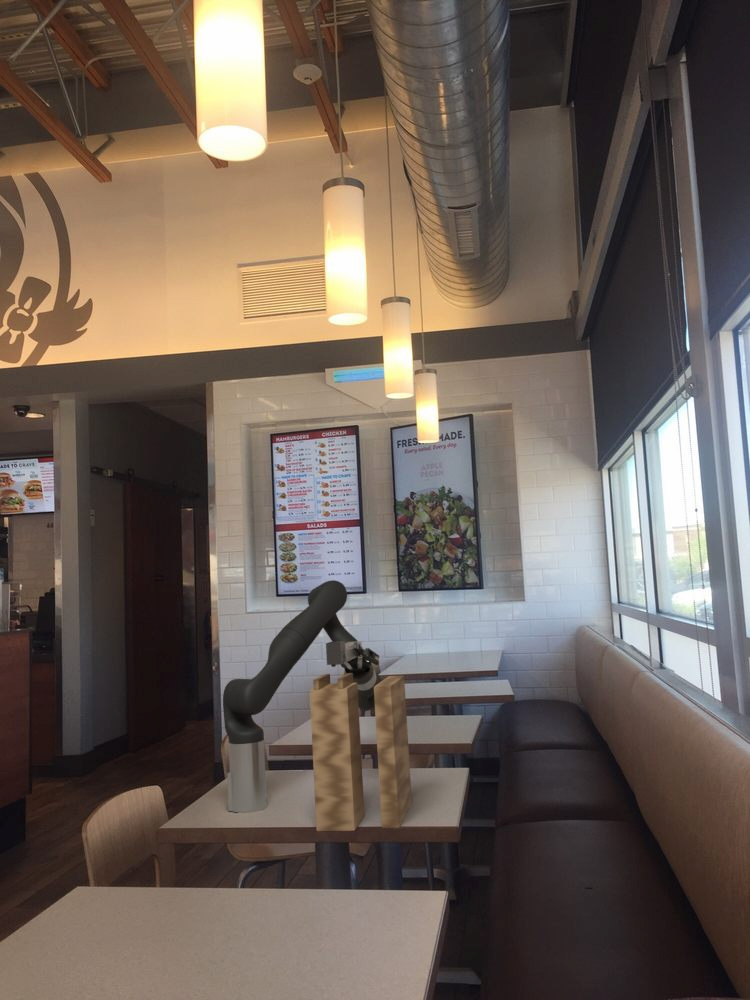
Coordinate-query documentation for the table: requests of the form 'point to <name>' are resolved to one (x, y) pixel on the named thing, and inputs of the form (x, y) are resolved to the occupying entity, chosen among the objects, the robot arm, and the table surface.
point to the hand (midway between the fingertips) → (347, 646)
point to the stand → (358, 752)
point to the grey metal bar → (340, 652)
